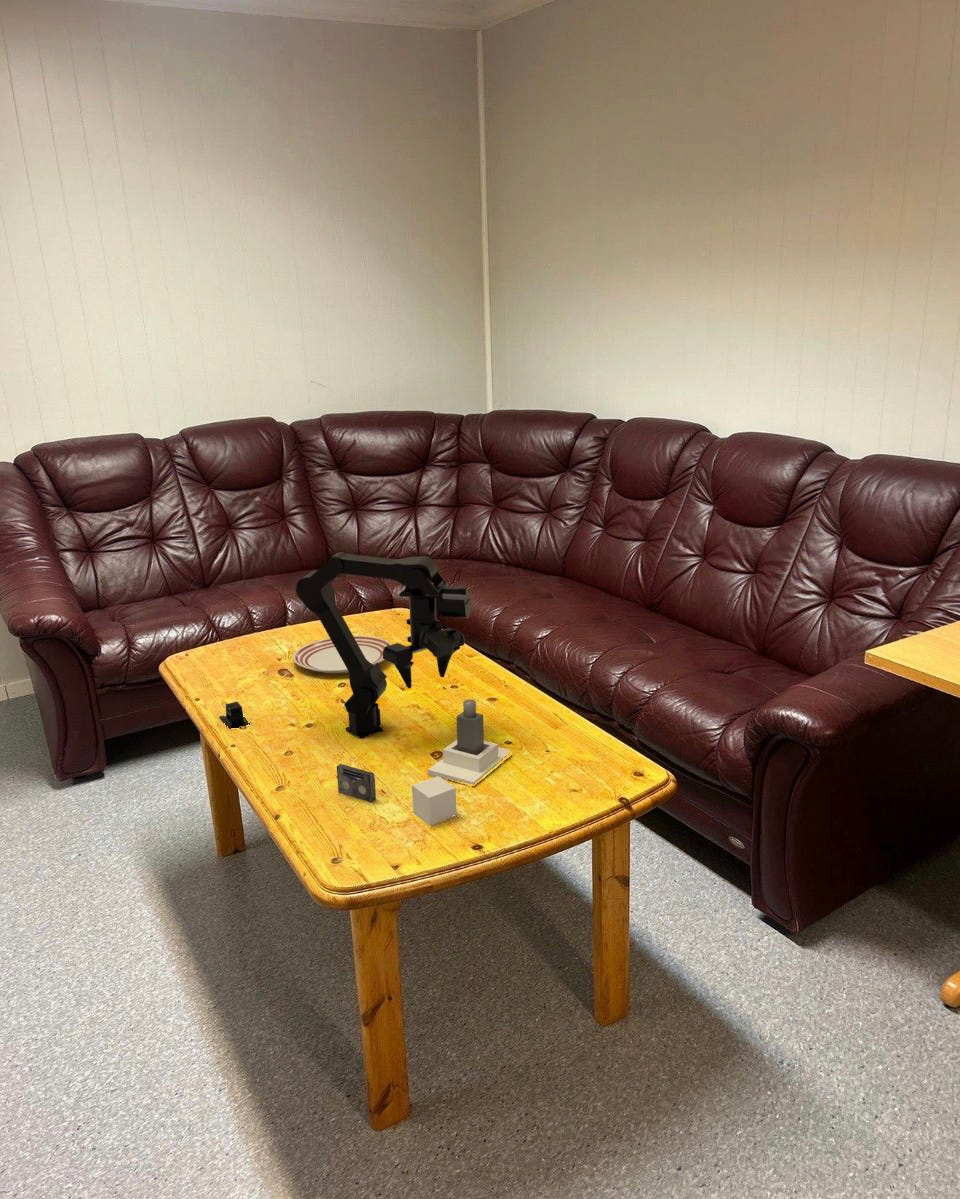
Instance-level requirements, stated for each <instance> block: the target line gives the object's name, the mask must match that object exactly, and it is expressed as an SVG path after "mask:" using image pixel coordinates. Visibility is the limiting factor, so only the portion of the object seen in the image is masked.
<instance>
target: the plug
mask: <svg viewBox="0 0 960 1199" xmlns="http://www.w3.org/2000/svg"><path fill="white" fill-rule="evenodd" d="M462 703H463V704H462V705H463V706H462V708H463V711H462V712H461V713H459V714H458V715H456V740H457V750H458V751H461V752H465V753H469V754H473V755H478V754H480V753H481V752H482V751H484V741H485V737H484V736H485V735H484V732H485V731H484V714H482V713H478V712H477V706H476V705H477V701H476V700H474V699H466V700H463V702H462Z"/></svg>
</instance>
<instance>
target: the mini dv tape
mask: <svg viewBox="0 0 960 1199" xmlns="http://www.w3.org/2000/svg"><path fill="white" fill-rule="evenodd" d="M336 774H337V776H336V778H337V788H338V789H337V790H338V791H337V792H338V793H339V794H341V795H344V796H345V795H346V796H349V797H351V798H355V799H358V800H362V801H364V802H368V803H374V801H375V800H377V794H376V792H377V791H376V777H375V776H376V775H375V773H374V772H372V771H368V770H364V769H362V768H361V769H360V768H356V767H355V766H354V767H353V766H350V765H347V764H343V763H339V764H337V765H336Z"/></svg>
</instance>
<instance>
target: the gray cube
mask: <svg viewBox="0 0 960 1199" xmlns="http://www.w3.org/2000/svg"><path fill="white" fill-rule="evenodd" d="M411 793H412V794H411V795H412V813H413V814H414V815H415V816H417V817H418V818H419V819H420V820H422V821H423V822H424V823H426V824H427V825H429V826H430V827H431V826H434V825H436V823H437V824H439V823H442V822H444V821H446V820H445V819H447V818H449V819H451V818H450V817H452V816H453V815H456V814H457V813H458V812H457V787H455V786H453V785H452V784H450V783H449V782H448V781H447V780H445V779H442V778H440V777H439V776H437V777H434V776H433V777H432V778H429V779H426V780H424V781H423V780H422V781H420V782H417V783H415V784H412V785H411ZM452 818H453V817H452ZM443 820H444V821H443ZM447 820H448V819H447ZM441 821H442V822H441ZM438 822H439V823H438Z"/></svg>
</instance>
